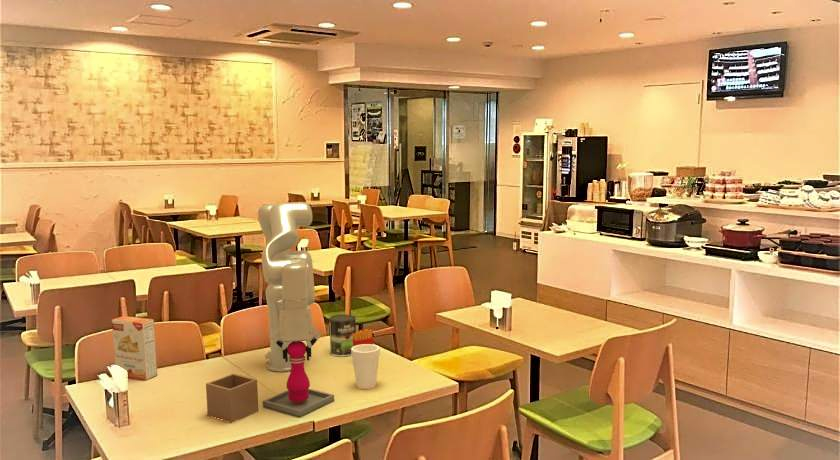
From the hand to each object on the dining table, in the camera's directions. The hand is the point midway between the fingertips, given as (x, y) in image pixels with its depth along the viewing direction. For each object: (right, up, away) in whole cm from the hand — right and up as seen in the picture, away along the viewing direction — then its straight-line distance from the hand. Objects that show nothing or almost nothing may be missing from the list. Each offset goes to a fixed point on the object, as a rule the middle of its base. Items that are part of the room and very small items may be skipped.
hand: (297, 359), depth 212 cm
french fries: (+17, -9, +43) cm, 47 cm away
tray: (0, -14, +2) cm, 14 cm away
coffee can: (+8, -8, +53) cm, 55 cm away
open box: (-19, -15, -5) cm, 25 cm away
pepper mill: (0, -13, +2) cm, 13 cm away
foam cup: (+20, -12, +17) cm, 29 cm away
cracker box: (-62, -12, +30) cm, 70 cm away
